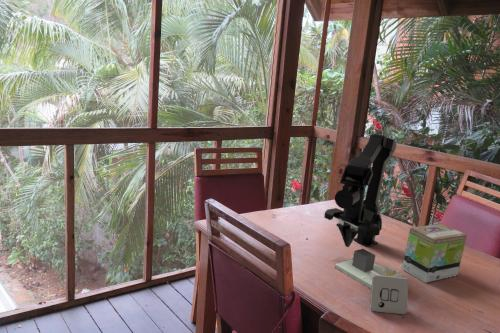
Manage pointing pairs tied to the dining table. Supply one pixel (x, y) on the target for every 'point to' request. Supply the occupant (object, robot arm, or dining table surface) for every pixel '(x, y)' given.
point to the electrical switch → (389, 294)
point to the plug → (363, 260)
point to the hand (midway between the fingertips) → (347, 246)
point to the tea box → (433, 252)
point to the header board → (366, 277)
